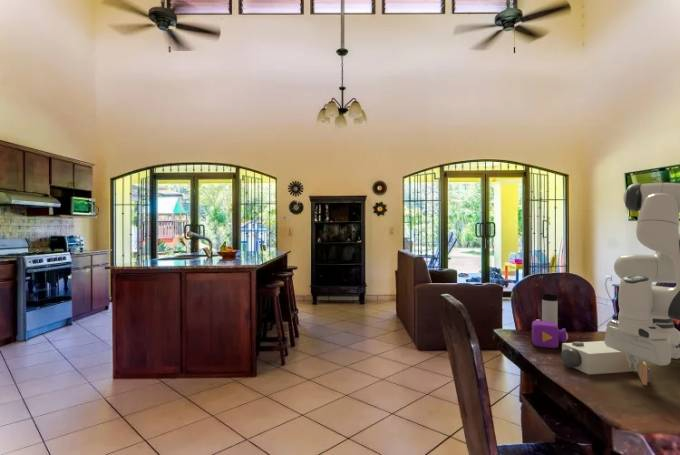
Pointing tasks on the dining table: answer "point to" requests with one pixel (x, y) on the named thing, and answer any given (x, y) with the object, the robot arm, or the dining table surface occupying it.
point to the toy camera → (547, 334)
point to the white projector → (594, 358)
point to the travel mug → (549, 308)
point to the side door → (644, 373)
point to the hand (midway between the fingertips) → (634, 369)
